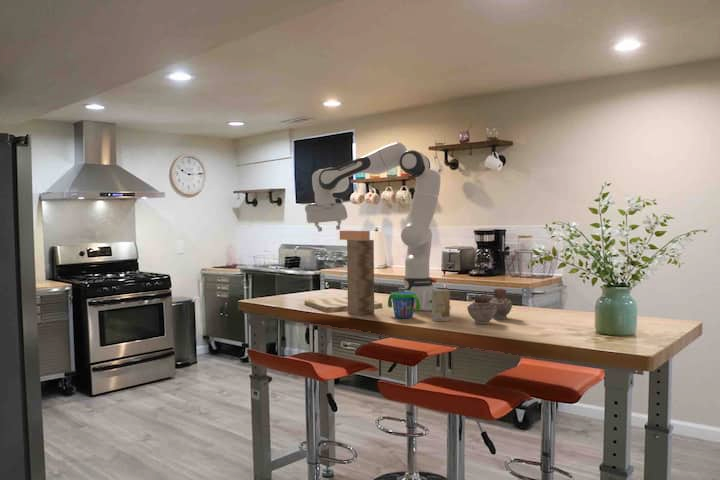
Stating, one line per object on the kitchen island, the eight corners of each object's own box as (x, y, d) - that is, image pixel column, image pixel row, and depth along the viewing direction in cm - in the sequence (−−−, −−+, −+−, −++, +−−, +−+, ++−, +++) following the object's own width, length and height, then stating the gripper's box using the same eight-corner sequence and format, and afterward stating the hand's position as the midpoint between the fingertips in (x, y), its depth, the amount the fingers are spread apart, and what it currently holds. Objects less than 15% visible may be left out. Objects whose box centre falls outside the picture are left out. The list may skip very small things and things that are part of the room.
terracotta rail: (347, 239, 254) (347, 230, 254) (369, 240, 234) (369, 230, 234) (339, 239, 252) (339, 230, 252) (361, 240, 233) (361, 231, 232)
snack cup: (381, 316, 235) (381, 292, 234) (399, 313, 241) (399, 290, 241) (407, 321, 223) (407, 295, 222) (426, 318, 229) (425, 293, 229)
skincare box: (435, 321, 220) (435, 291, 220) (431, 320, 225) (431, 289, 224) (450, 320, 222) (450, 290, 222) (445, 319, 226) (445, 289, 226)
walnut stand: (363, 310, 250) (363, 239, 249) (374, 314, 241) (373, 240, 240) (347, 312, 246) (347, 239, 245) (357, 315, 237) (356, 240, 236)
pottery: (518, 318, 227) (518, 289, 227) (488, 327, 209) (488, 295, 208) (492, 315, 235) (492, 287, 235) (461, 323, 216) (461, 293, 216)
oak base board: (356, 300, 284) (356, 296, 284) (382, 307, 259) (382, 303, 259) (304, 304, 272) (304, 300, 272) (326, 312, 247) (326, 307, 247)
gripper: (306, 202, 264) (311, 230, 262) (345, 199, 272) (350, 226, 270) (302, 206, 270) (307, 233, 267) (341, 203, 278) (346, 229, 276)
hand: (329, 230), depth 269 cm, fingers open, 8 cm apart
